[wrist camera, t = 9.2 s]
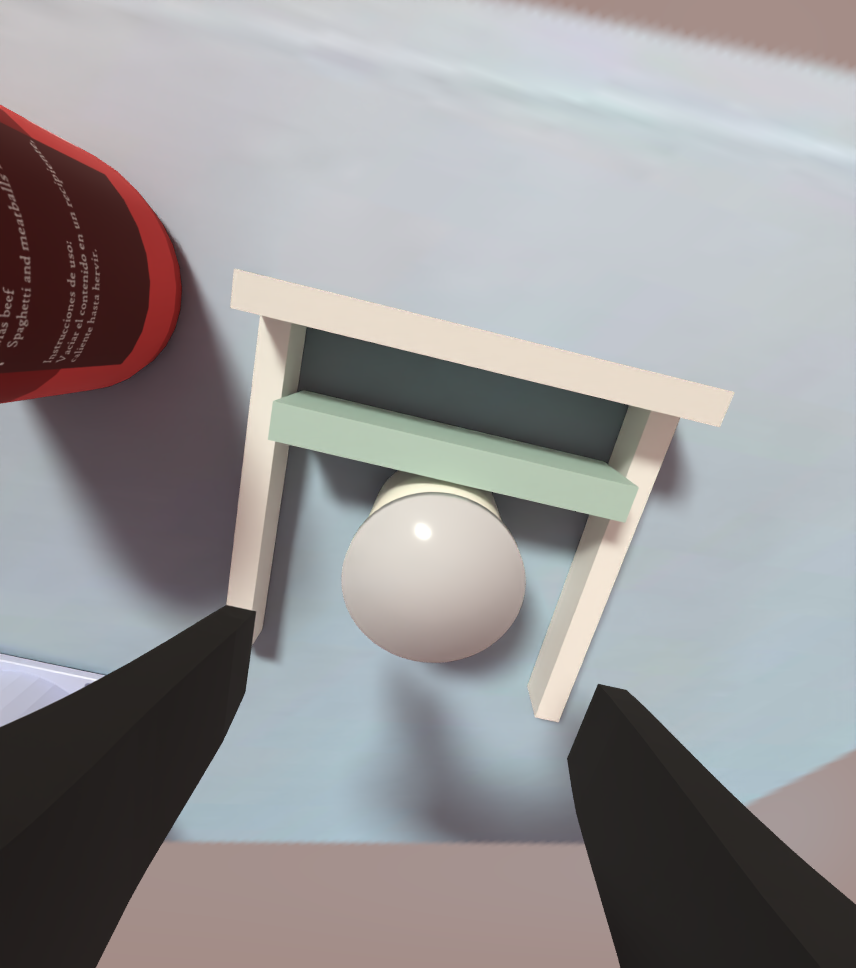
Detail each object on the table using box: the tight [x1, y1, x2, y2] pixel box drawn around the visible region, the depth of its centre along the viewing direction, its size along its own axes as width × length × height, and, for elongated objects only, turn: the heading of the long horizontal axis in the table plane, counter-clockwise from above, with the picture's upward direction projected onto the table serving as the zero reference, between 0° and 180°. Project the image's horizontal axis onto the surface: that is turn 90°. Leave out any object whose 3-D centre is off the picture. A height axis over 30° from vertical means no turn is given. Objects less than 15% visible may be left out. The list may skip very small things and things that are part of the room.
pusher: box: [268, 390, 639, 523], centre depth 16 cm, size 11×1×3 cm, turn 77°
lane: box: [226, 269, 735, 722], centre depth 16 cm, size 14×14×4 cm
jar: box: [341, 470, 526, 663], centre depth 16 cm, size 5×5×5 cm
